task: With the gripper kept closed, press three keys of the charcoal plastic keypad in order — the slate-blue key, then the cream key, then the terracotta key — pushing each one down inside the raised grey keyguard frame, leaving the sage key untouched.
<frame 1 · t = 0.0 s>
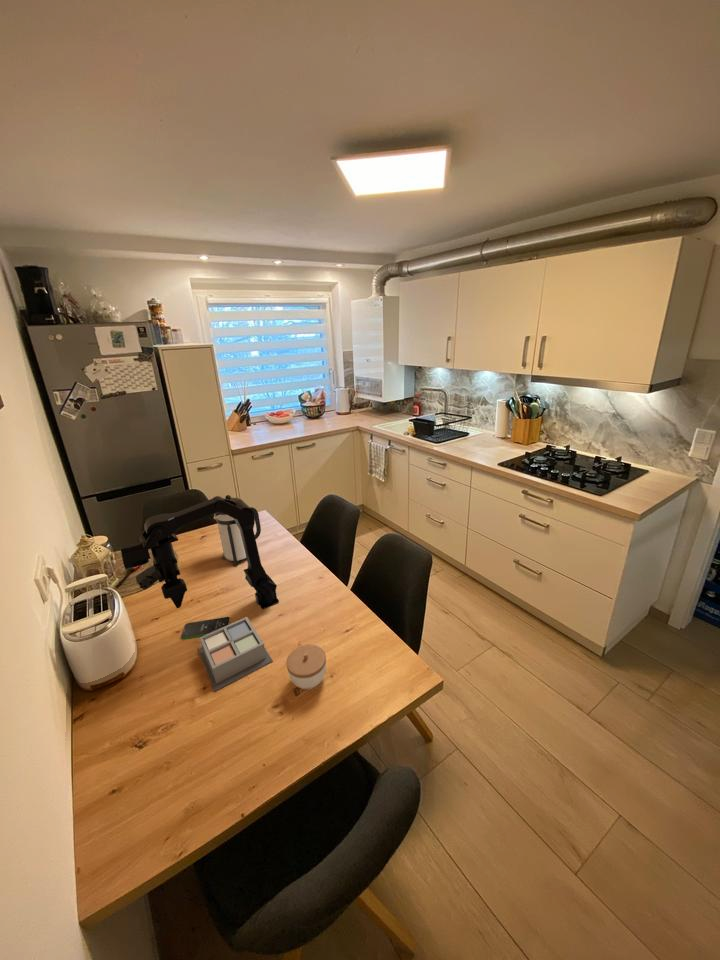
hand: (175, 599, 120), 15 cm above the table, fingers open, 9 cm apart
lidded jar: (309, 680, 107), on the table
keypad base: (234, 655, 116), on the table
key sage: (247, 648, 114), point 3 cm above the table, slide at 0.0 cm
key terracotta: (224, 659, 111), point 3 cm above the table, slide at 0.0 cm
smartphone: (206, 629, 129), on the table
key cream: (217, 645, 116), point 3 cm above the table, slide at 0.0 cm
coffee press: (241, 556, 171), on the table
key slate: (240, 635, 120), point 3 cm above the table, slide at 0.0 cm
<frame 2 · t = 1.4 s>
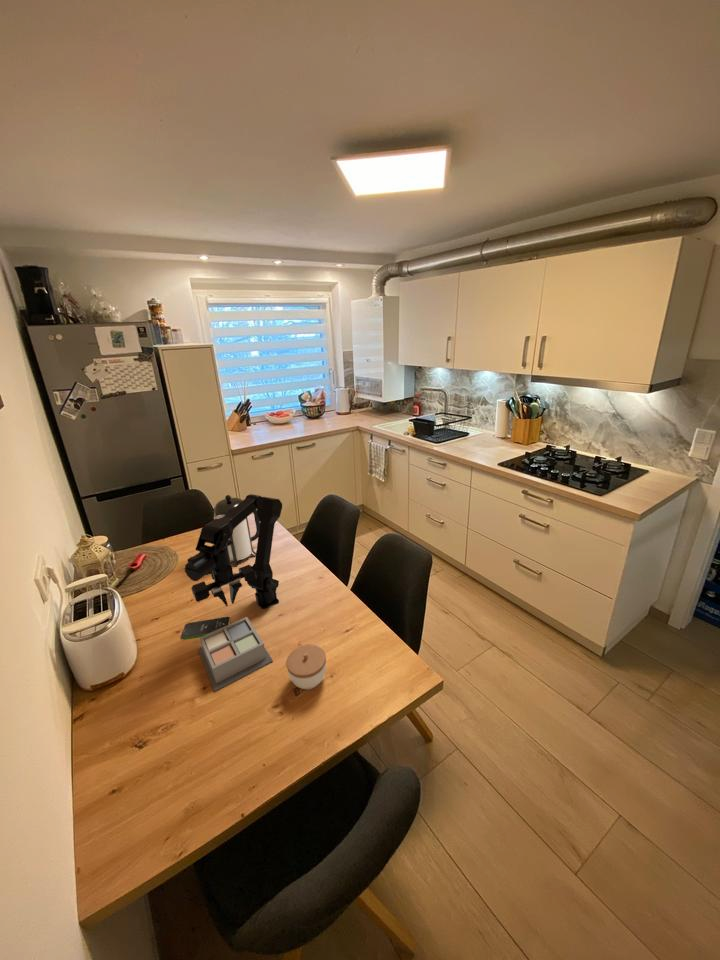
hand: (229, 604, 122), 11 cm above the table, fingers closed
nothing on the table moved.
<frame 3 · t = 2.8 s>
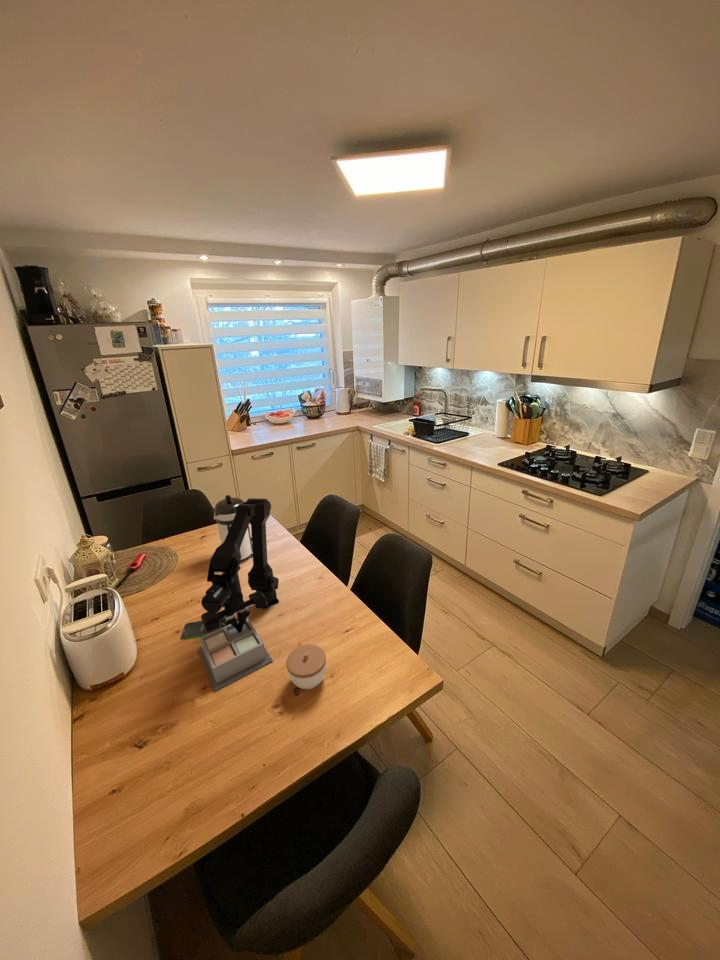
hand: (239, 631, 119), 5 cm above the table, fingers closed, pressing on key slate
key slate: (240, 636, 120), point 3 cm above the table, slide at 0.4 cm, touching gripper
everything else where it was.
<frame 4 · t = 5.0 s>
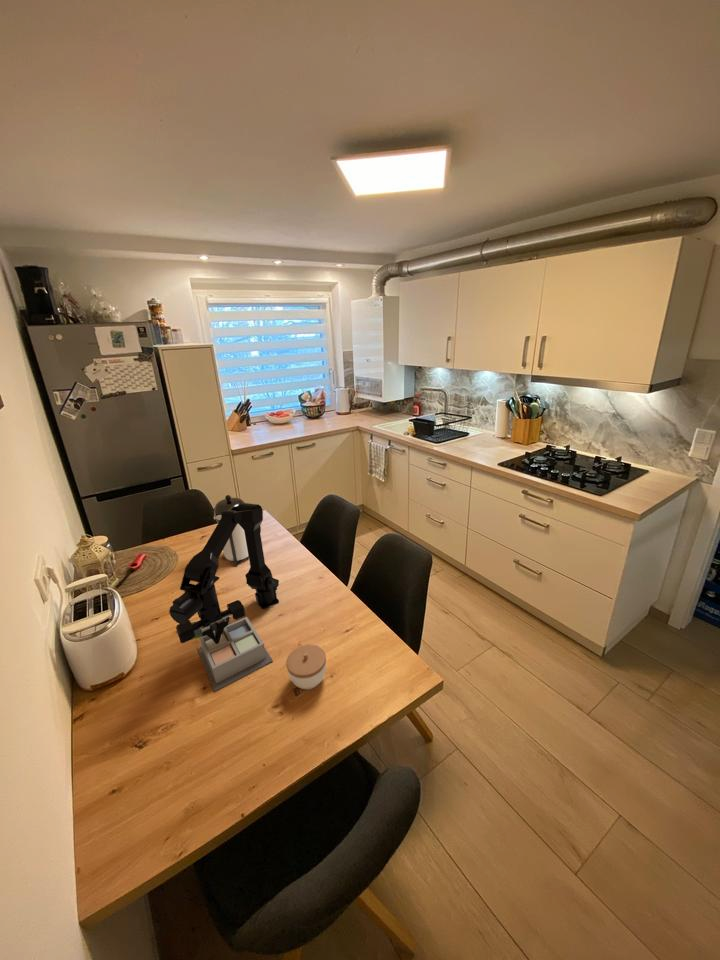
hand: (217, 642, 116), 4 cm above the table, fingers closed, pressing on key cream
key cream: (217, 647, 116), point 3 cm above the table, slide at 0.6 cm, touching gripper
key slate: (240, 637, 120), point 2 cm above the table, slide at 1.1 cm
everything else where it was.
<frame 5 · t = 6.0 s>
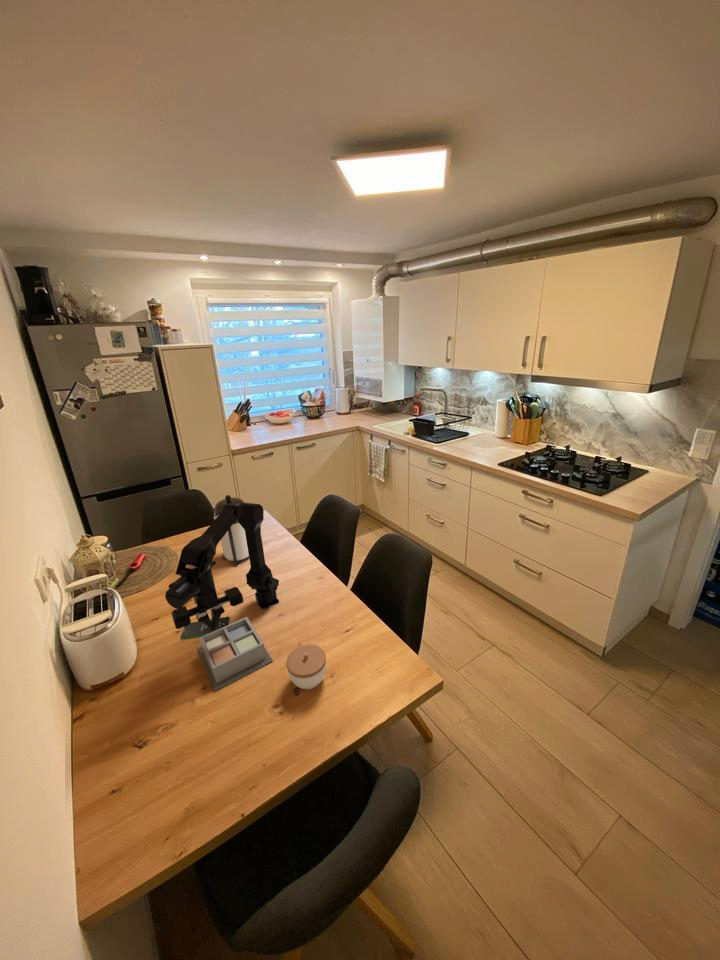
hand: (213, 630, 113), 10 cm above the table, fingers closed
key cream: (218, 648, 117), point 2 cm above the table, slide at 1.0 cm
everything else where it was.
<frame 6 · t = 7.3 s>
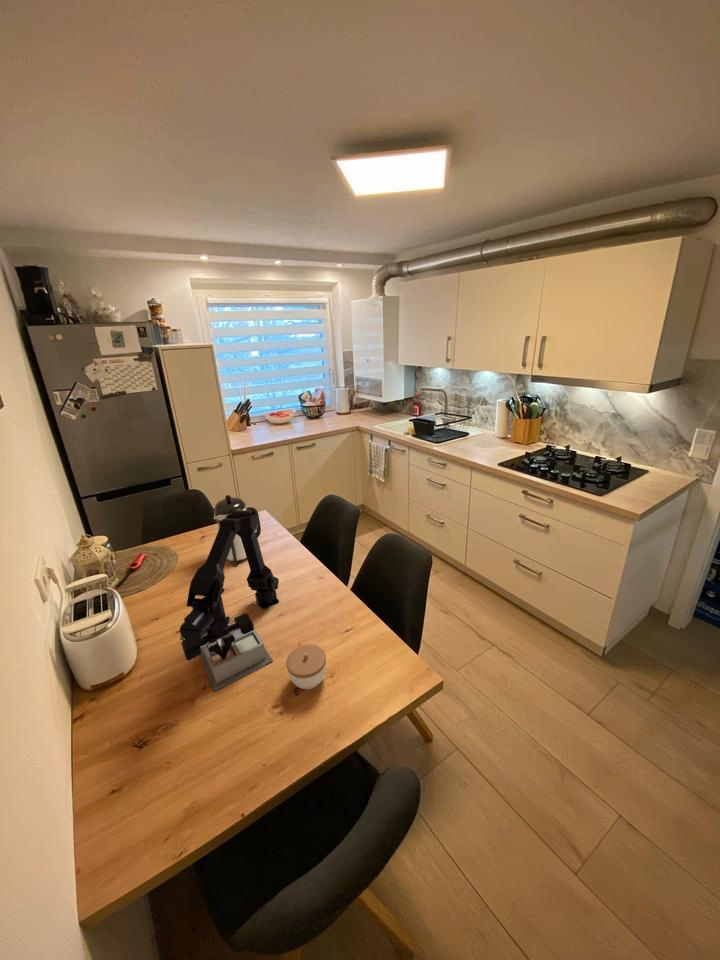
hand: (224, 658, 111), 4 cm above the table, fingers closed, pressing on key terracotta
key terracotta: (224, 662, 111), point 2 cm above the table, slide at 1.0 cm, touching gripper
everything else where it was.
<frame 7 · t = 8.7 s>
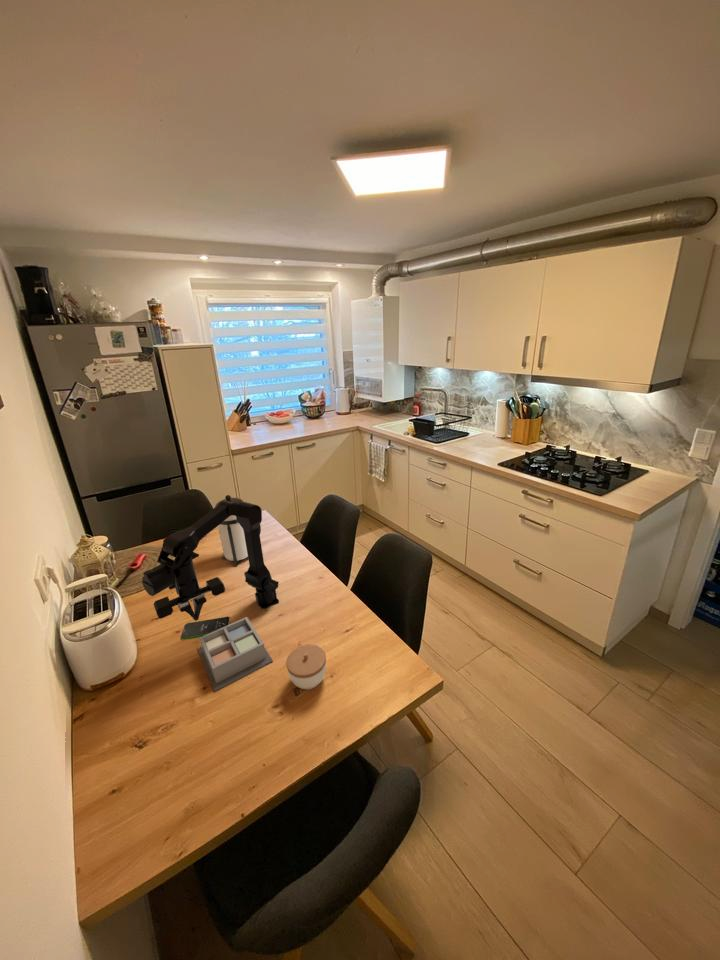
hand: (196, 619, 115), 12 cm above the table, fingers closed
key terracotta: (224, 662, 111), point 2 cm above the table, slide at 1.0 cm
everything else where it was.
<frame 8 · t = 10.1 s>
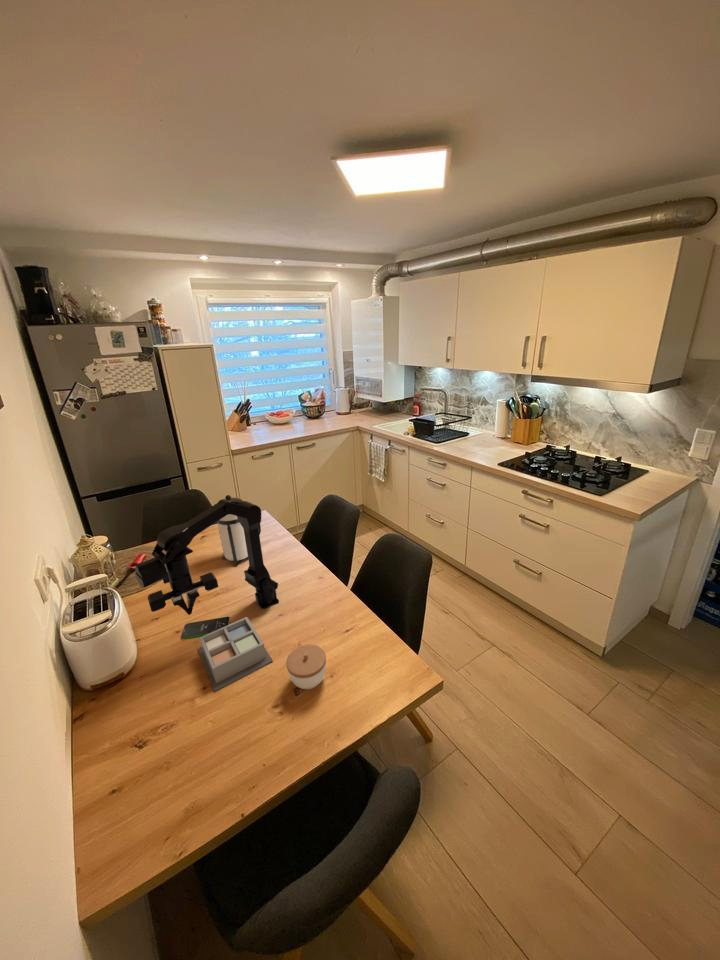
hand: (189, 613, 117), 12 cm above the table, fingers closed
nothing on the table moved.
at the end: key slate slide at 1.1 cm; key cream slide at 1.0 cm; key terracotta slide at 1.0 cm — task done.
